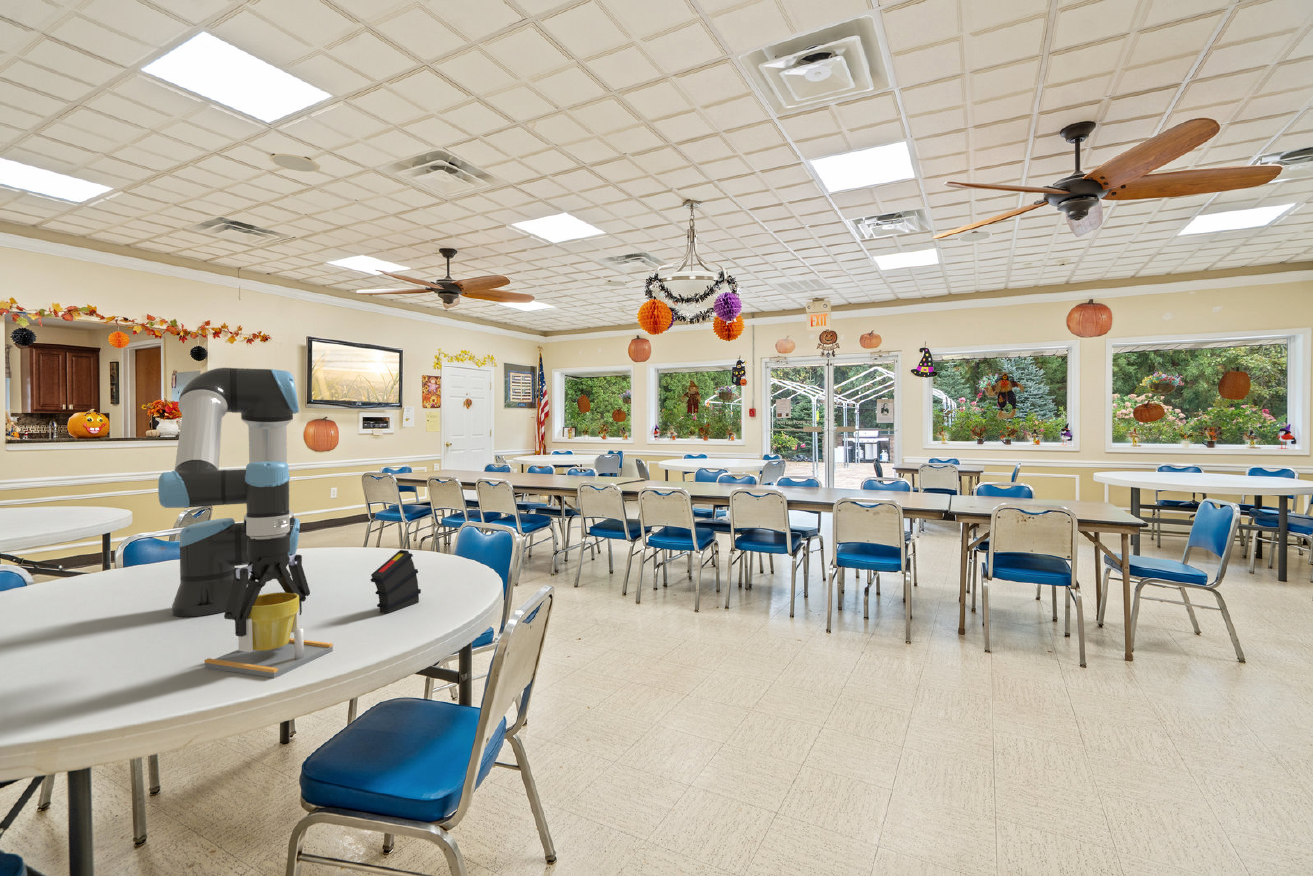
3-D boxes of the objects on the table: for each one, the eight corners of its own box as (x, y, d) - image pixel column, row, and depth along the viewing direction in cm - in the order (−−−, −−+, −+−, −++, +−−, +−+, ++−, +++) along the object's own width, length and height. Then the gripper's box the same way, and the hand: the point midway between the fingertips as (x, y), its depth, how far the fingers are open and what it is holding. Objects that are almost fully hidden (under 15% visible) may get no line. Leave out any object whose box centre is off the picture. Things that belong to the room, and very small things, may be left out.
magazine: (429, 593, 162) (410, 550, 156) (395, 627, 152) (373, 582, 145) (419, 591, 164) (400, 548, 158) (384, 625, 153) (363, 580, 147)
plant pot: (310, 635, 126) (309, 591, 126) (280, 654, 116) (279, 606, 116) (262, 636, 126) (261, 591, 126) (228, 655, 116) (227, 606, 116)
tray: (204, 667, 117) (203, 633, 117) (268, 642, 130) (267, 611, 130) (274, 678, 112) (273, 642, 112) (332, 650, 125) (332, 618, 125)
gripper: (228, 547, 109) (231, 664, 109) (327, 527, 130) (329, 624, 131) (198, 545, 111) (201, 660, 111) (301, 525, 133) (303, 621, 133)
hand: (270, 641), depth 121 cm, fingers closed on plant pot, 10 cm apart
